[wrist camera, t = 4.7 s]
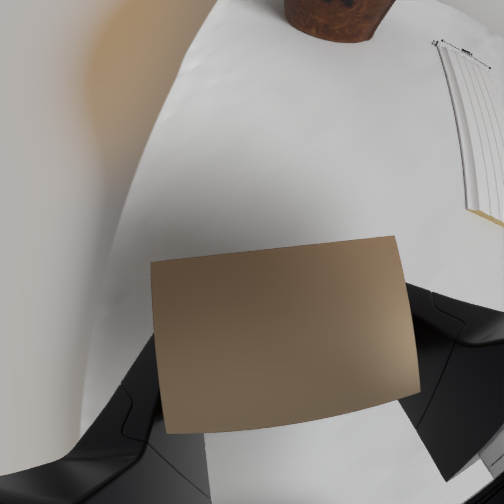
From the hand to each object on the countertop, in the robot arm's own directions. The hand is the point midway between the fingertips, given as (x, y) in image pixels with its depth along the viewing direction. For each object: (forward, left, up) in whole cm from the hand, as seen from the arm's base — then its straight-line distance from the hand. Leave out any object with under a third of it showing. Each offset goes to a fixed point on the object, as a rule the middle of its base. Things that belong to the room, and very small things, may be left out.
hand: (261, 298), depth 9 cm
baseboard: (+20, -32, -14) cm, 41 cm away
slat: (-1, 0, -7) cm, 7 cm away
